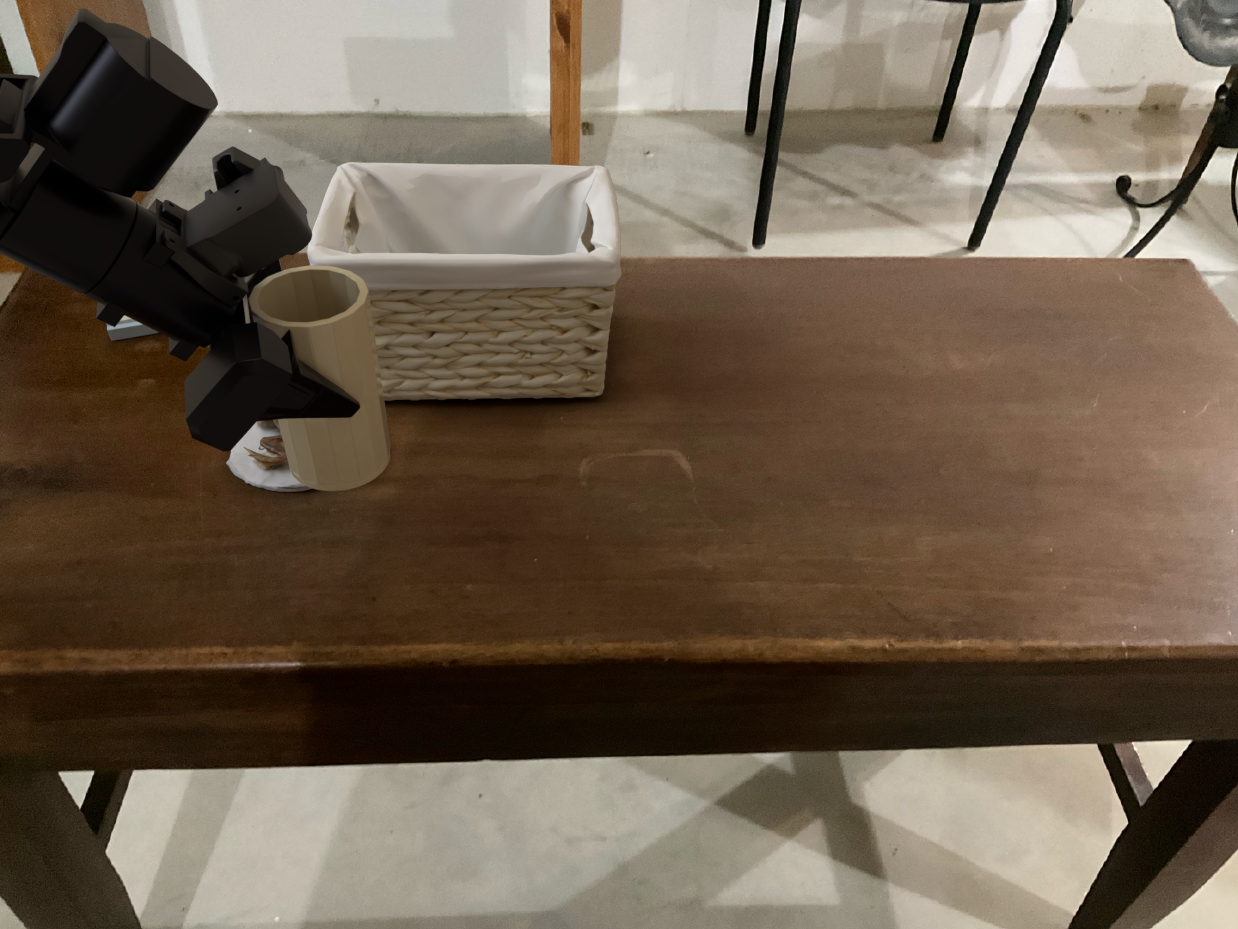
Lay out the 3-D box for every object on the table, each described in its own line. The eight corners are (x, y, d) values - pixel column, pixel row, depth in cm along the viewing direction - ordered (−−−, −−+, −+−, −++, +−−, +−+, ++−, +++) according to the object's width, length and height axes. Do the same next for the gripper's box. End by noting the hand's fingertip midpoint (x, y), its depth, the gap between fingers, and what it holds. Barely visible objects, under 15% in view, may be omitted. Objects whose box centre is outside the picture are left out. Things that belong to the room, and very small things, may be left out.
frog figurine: (214, 418, 78) (202, 381, 76) (359, 383, 82) (353, 347, 80) (238, 510, 71) (226, 473, 68) (397, 467, 75) (391, 430, 72)
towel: (111, 341, 85) (105, 327, 84) (110, 305, 89) (105, 291, 88) (229, 321, 88) (225, 307, 87) (222, 287, 92) (219, 273, 91)
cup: (298, 502, 62) (258, 335, 54) (281, 438, 67) (241, 276, 58) (401, 476, 64) (379, 313, 56) (378, 417, 69) (353, 257, 60)
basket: (330, 411, 80) (298, 255, 69) (358, 302, 91) (334, 155, 81) (617, 410, 81) (626, 258, 71) (607, 304, 93) (614, 160, 83)
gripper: (201, 222, 42) (461, 378, 53) (189, 65, 55) (402, 216, 66) (66, 391, 46) (337, 506, 56) (85, 206, 58) (303, 328, 69)
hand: (348, 376), depth 62 cm, fingers closed on cup, 7 cm apart
